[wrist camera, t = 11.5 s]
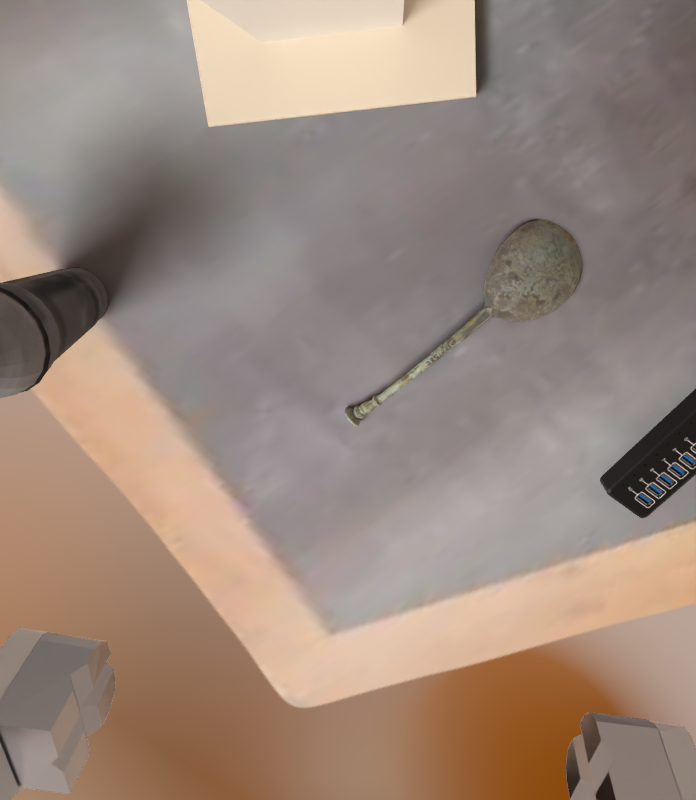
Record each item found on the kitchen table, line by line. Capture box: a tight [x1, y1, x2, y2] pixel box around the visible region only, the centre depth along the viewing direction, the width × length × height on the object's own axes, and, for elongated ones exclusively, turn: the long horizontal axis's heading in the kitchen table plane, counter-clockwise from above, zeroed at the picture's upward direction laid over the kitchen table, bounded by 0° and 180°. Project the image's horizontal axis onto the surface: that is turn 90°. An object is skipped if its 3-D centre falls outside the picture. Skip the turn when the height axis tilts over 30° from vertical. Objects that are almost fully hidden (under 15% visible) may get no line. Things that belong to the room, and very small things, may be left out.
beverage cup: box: [0, 268, 108, 398], centre depth 39 cm, size 7×7×20 cm
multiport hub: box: [600, 389, 696, 518], centre depth 49 cm, size 4×14×2 cm, turn 144°
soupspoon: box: [345, 219, 582, 426], centre depth 47 cm, size 22×3×7 cm
